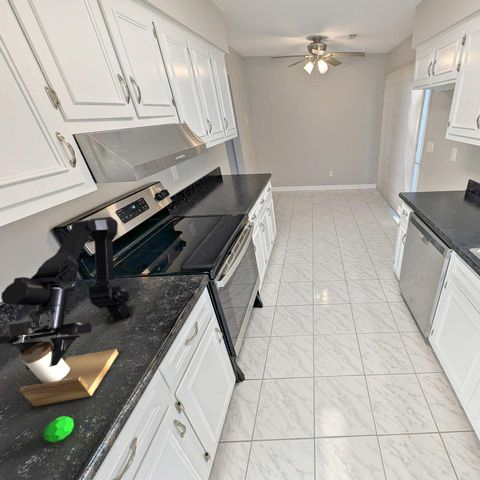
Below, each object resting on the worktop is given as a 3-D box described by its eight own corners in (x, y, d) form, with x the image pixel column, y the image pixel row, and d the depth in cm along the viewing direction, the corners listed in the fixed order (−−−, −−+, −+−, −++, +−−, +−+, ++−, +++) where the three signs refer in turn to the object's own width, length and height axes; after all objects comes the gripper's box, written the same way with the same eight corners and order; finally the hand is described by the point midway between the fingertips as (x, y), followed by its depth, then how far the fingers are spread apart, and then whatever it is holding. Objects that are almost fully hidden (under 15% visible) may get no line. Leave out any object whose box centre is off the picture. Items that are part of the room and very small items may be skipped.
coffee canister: (46, 372, 71) (25, 347, 66) (72, 362, 73) (53, 338, 69) (38, 389, 67) (15, 364, 62) (66, 378, 69) (46, 353, 64)
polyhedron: (62, 424, 63) (51, 413, 61) (82, 421, 63) (73, 410, 61) (44, 448, 59) (32, 437, 57) (67, 445, 59) (55, 434, 57)
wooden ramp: (71, 361, 80) (59, 345, 77) (118, 353, 82) (108, 337, 78) (34, 406, 68) (17, 390, 64) (91, 396, 69) (77, 379, 66)
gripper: (-21, 310, 62) (-38, 380, 58) (61, 299, 64) (51, 366, 60) (26, 312, 73) (15, 371, 68) (96, 302, 75) (89, 360, 70)
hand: (41, 367), depth 66 cm, fingers closed on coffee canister, 5 cm apart
